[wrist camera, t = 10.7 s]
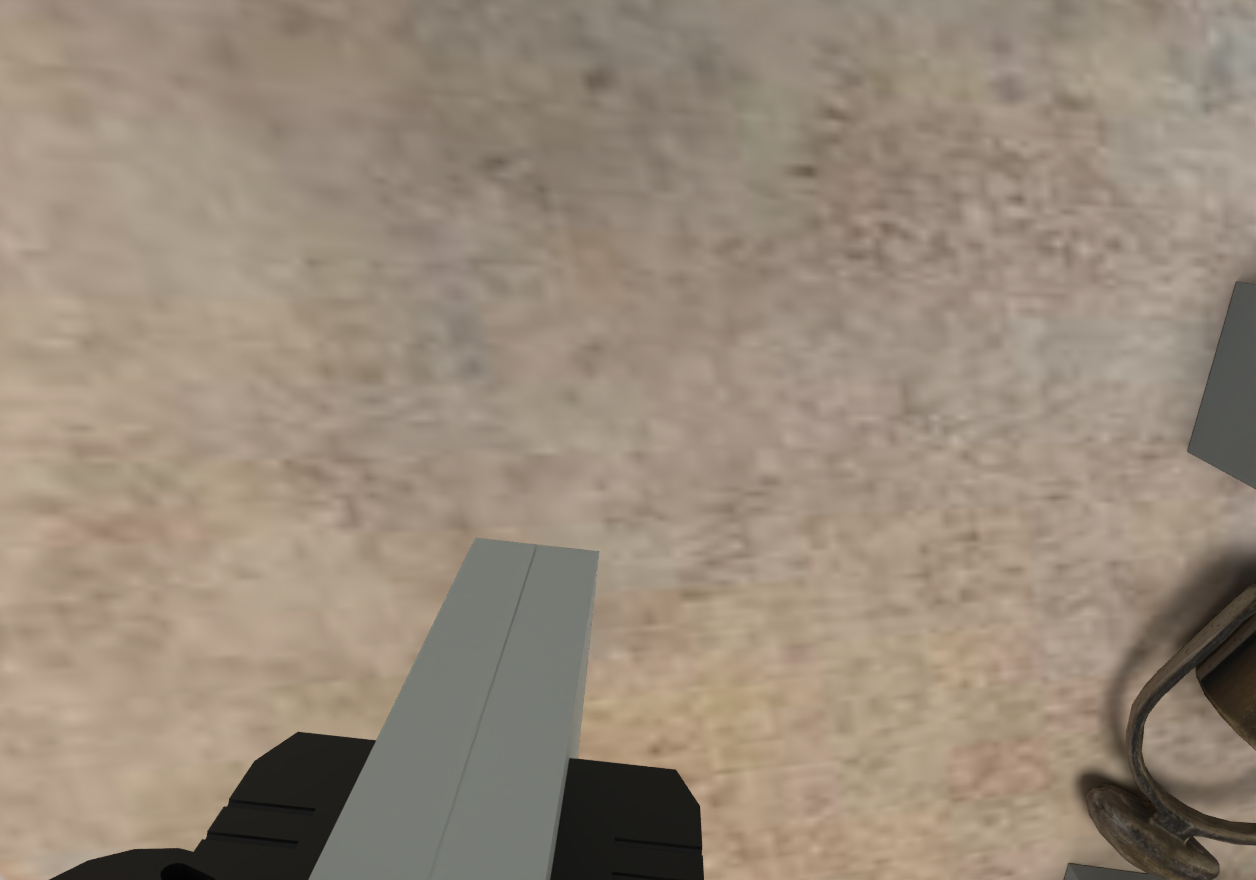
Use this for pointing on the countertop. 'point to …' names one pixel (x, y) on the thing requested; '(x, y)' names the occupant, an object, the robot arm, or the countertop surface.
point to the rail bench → (1218, 443)
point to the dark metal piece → (1164, 828)
